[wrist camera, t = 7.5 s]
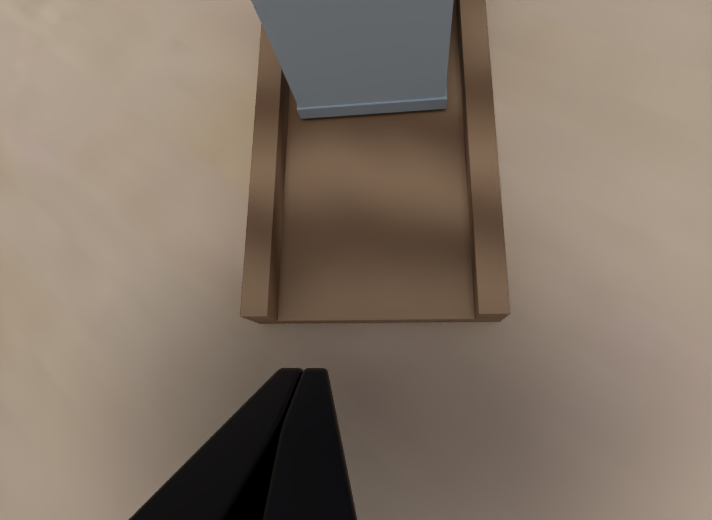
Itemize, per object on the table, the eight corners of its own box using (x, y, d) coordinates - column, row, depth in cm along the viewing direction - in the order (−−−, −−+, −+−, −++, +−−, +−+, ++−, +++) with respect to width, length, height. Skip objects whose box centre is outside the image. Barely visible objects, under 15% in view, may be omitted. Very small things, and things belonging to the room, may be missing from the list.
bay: (499, 321, 21) (524, 302, 16) (259, 323, 22) (215, 307, 17) (474, -24, 25) (487, -118, 21) (280, -3, 27) (249, -86, 22)
